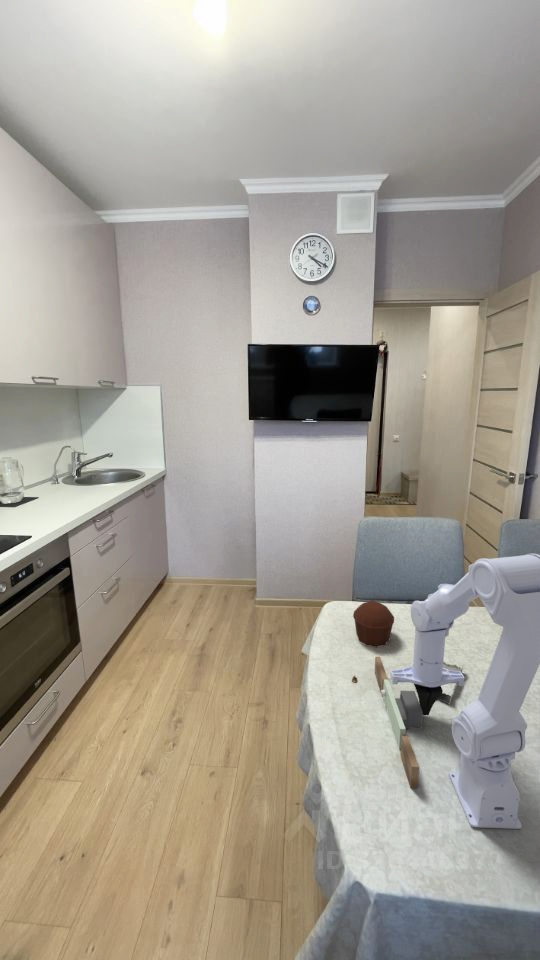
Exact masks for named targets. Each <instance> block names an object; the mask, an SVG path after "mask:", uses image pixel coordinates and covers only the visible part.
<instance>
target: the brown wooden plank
mask: <svg viewBox="0 0 540 960" xmlns="http://www.w3.org/2000/svg"><path fill="white" fill-rule="evenodd" d="M374 676H375V679H376V682H377V685H378V688H379V691H380V695H381V697H382V698H383V696H382V694H381V690H383V684H384V680H389V679H388V675H387V673H386V669H385V667H384V664H383V660H382V658H381V656H374ZM400 759H401V762H402V766H403V768H404V772H405V775H406V778H407V782H408V785H409V788H410V789H418V787H419V786H418V784H419V783H418V782H419V771H420V767H419V763H418V760H417V758H416V754H415V751H414V749H413V747H412V743H411V741H410V738H409V736H407V731H402V739H401V749H400Z"/></svg>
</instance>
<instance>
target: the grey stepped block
mask: <svg viewBox="0 0 540 960" xmlns="http://www.w3.org/2000/svg"><path fill="white" fill-rule="evenodd" d="M399 693H400V694H399V695H400V696H399V697H395V700H396V703H397V706H398V709H399V712H400V714H401V717H402V720H403V723H404V726H405V729H418V730H419V729H420V730H421V729H422V727H423V716H424V715H423V711H422V709H421V706H420V703H419V698H418V695H417V694H416V693H417V692H416V690H400V692H399Z"/></svg>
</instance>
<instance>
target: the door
mask: <svg viewBox="0 0 540 960" xmlns="http://www.w3.org/2000/svg"><path fill="white" fill-rule="evenodd" d="M381 694H382V695H381ZM380 695H381V697H382V696H383V697H382V699H383V702H384V704H385V708H386V711H387V714H388V717H389V721H390V723H391V728H392V730H393V734H394V736H395V739H396V740H395V741H396V743H397V746H398V749H399V750H401V739H402V731H406V730H407V728H405V726H404V723H403V720H402V717H401V714H400V712H399V709H398V706H397V703H396V700H395V698H396V697H395V695H394V692H393V690H392V687H391V684H390V681H389V679H388V680H384V684H383V690H381V692H380ZM406 732H407V731H406Z"/></svg>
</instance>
